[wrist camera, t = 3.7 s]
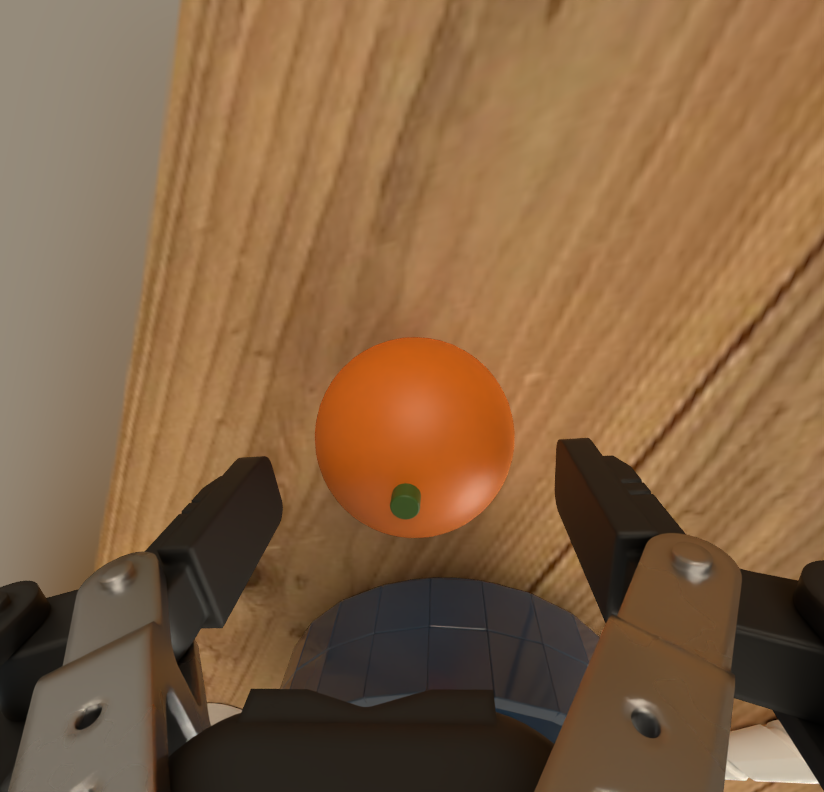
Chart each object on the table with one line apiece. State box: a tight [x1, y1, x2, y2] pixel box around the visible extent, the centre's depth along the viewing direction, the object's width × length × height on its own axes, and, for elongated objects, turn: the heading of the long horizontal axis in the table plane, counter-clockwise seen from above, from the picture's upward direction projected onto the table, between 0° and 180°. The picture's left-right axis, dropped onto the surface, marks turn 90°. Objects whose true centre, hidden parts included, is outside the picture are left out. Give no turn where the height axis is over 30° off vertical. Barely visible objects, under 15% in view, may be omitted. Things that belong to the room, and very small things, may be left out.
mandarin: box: [315, 337, 514, 538], centre depth 12 cm, size 6×6×6 cm
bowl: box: [280, 577, 600, 744], centre depth 19 cm, size 17×17×6 cm
